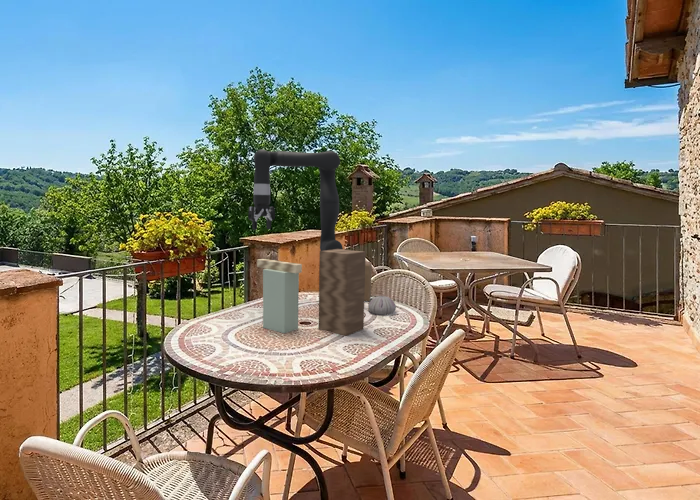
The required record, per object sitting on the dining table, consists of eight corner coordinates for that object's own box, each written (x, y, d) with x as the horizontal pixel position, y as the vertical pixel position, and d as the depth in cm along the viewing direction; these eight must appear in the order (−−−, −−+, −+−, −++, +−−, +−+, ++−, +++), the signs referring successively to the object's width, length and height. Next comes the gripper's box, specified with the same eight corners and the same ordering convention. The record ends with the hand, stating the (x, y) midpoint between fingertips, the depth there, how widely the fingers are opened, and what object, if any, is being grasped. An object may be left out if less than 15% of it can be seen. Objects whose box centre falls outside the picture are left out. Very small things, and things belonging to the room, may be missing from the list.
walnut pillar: (318, 329, 180) (319, 251, 176) (336, 323, 190) (338, 248, 186) (346, 336, 172) (347, 254, 168) (363, 329, 181) (365, 251, 178)
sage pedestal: (263, 327, 180) (263, 269, 178) (277, 323, 187) (277, 267, 184) (284, 333, 173) (284, 272, 171) (298, 328, 180) (298, 270, 177)
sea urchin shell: (401, 313, 209) (402, 296, 208) (382, 318, 200) (382, 300, 199) (381, 307, 219) (381, 292, 218) (361, 312, 210) (362, 295, 209)
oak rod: (257, 267, 183) (257, 259, 183) (262, 266, 186) (262, 258, 185) (296, 273, 170) (296, 265, 170) (301, 272, 173) (301, 264, 172)
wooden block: (370, 298, 240) (371, 261, 238) (369, 302, 230) (370, 264, 228) (352, 297, 241) (353, 260, 239) (350, 301, 231) (351, 263, 229)
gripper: (255, 193, 196) (255, 230, 198) (278, 194, 207) (278, 229, 209) (244, 193, 200) (244, 229, 202) (267, 194, 212) (267, 228, 213)
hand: (261, 229), depth 206 cm, fingers open, 8 cm apart
